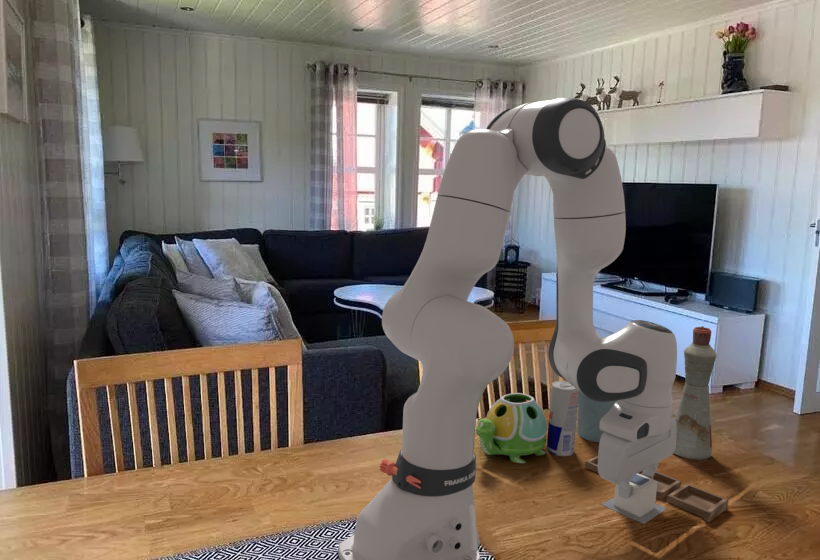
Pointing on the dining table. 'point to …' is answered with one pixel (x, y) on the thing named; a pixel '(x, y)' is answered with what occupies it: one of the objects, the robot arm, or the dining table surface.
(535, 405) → the turtle holder
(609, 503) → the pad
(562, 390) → the beverage can
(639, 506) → the white cube
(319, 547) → the dining table surface
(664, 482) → the tray
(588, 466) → the tray
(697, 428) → the bottle
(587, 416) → the blue-grey plant pot
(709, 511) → the tray
